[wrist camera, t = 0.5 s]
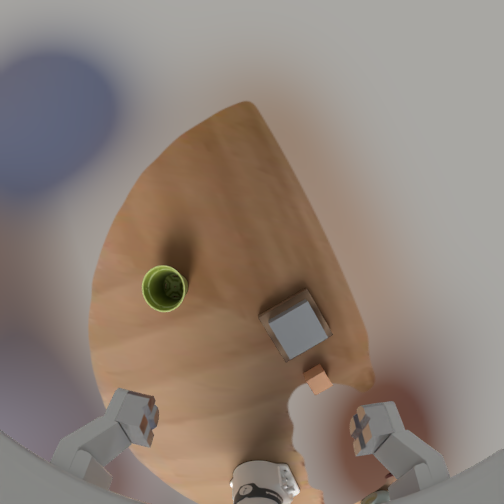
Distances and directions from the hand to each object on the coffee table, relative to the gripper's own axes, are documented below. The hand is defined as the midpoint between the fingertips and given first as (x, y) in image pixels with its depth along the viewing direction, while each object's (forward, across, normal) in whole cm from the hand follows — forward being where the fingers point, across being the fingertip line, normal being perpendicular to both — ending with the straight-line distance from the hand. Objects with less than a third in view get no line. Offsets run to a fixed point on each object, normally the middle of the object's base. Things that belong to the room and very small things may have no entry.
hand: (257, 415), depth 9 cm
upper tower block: (+40, +10, -27) cm, 49 cm away
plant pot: (+46, -18, -22) cm, 54 cm away
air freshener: (+14, +47, -87) cm, 99 cm away
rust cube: (+37, +16, -39) cm, 56 cm away
